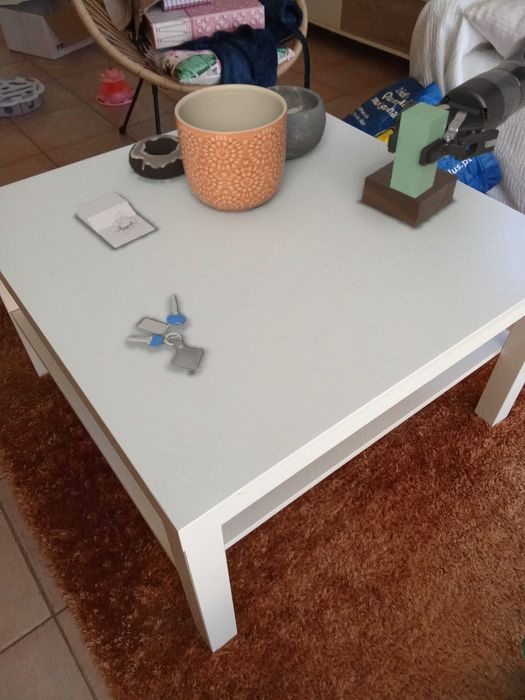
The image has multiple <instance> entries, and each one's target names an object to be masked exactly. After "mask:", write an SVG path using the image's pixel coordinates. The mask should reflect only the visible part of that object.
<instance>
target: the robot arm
mask: <svg viewBox="0 0 525 700" xmlns="http://www.w3.org/2000/svg"><path fill="white" fill-rule="evenodd" d="M416 104H417V102H416V101H415V100H411V99H410V100H407V101H406V102H405V104H404V105H403V107H402V108H401V109H400V111H399V112H398V113H397V115H396V118H395V124H394V130H393V132H391V133H389V135H388V139H387V145H386V147H387V152H388V153H390V154H393V155H395V152H396V147H397V140H398V134H399V128H400V121H401V115H402V112H404V111H405V110H407V109H409V108H411V107H412V106H414V105H416ZM431 105H432V106H435V107H438V108H441V109H444V110H447V111H449V115H448V119H447V124H446V128H445V133H444V136H443V139H441V138H438V139H437V140H435V141H433V142H432V143H430V144H429V145H427V146H425V147H424V148H423V149H422V150H421V154H420V159H419V165H422V166H426V165H428V164H433V163H435V162H436V161H438V162H439V160H441V159H446V158H447V159H448V158H449V157H450V156H452V157H453V159H454V160H455V161H458V162H462V161H463V162H464V161H466V160H469V159H472V158H475V157H479V156H482V155H485V154H488V153H492V152H494V151H495V148H496V145H497V141H498V140H499V139H498V138H499V135H500V130H499V129H497V128H499V127H500V126H502V125H504V123H505V122H506V121H508V120H509V119H510V118H511V117H512V116H513V115H514V114H516V113H518V112H519V111H521V110H522V109H523V108H525V35H523V36H521V37H520V38H518V39H517V40H516V41H515V42H514V43H513V44H512V45H511V47H510V48H509V49H508V50H507V52H506V53H505V55H504V57H503V58H502V60H501V61H500V63H498V64H497V65H495V66H494V67H492V68H490V69H488V70H487V71H483V72H481V73H478V74H477V75H474V76H473V77H471V78H469V79H468V80H465V81H464V82H462V83H460V84H458V85H457V86H455V87H454V88H451V89H450V90H449V91H448V92H447V93H446V94H445V95H444V96H443V97H442V98H441V99H440V101H439V102H438V103H436V104H431ZM468 146H469V147H468Z"/></svg>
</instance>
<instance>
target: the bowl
mask: <svg viewBox="0 0 525 700" xmlns="http://www.w3.org/2000/svg"><path fill="white" fill-rule="evenodd" d="M265 88H266V89H269V90H272V91H274V92H276V93H278V94H279V95H280V96H282V97H283V98H284V100H285V101H286V103H287V135H286V157H285V160H287V159H288V160H289V159H295V158H298V157H301V156H303V155H306V154H308V153H310V152H311V151H313V150H314V149H316V148H317V146H318V145H319V144H320V143H321V140H322V138H323V135H324V133H325V129H326V123H327V116H326V115H327V113H326V112H327V111H326V107H325V103H324V102H323V99H322V98H321V96H320V94H319V93H316V91H314V90H312V89H309V88H306V87H301V86H299V85H289V84H288V85H287V84H286V85H285V84H284V85H283V84H280V85H271V86H268V87H265Z"/></svg>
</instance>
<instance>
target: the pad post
mask: <svg viewBox="0 0 525 700" xmlns="http://www.w3.org/2000/svg"><path fill="white" fill-rule="evenodd" d="M432 105H433V104H429V103H427V102H424V101H419V102H418V103H416V105H414V106H412V107H411V108H409V109H407V110H405V111H404V112H402V115H401V121H400V128H399V134H398V140H397V147H396V152H395V153H394V159H393V160H394V165H393V171H392V177H391V183H390V187H391V188H393V189H395V190H398V191H400V192H402V193H404V194H407V195H409V196H411V197H413V198H416V197H418V196H419V195H421V194H422V193H423V192H425V191H426V190H428V189H429V188H431V187H432V186H433V182H434V177H435V173H436V168H438V164H439V160H438V161H436V162H435V163H433V164H428V165H426V166H422V165H419V159H420V154H421V150H422V149H423V148H424V147H425V146H427V145H429V144H430V143H432V142H433V141H435V140H437V139H438V138H441V139H443V136H444V133H445V128H446V124H447V119H448V115H449V111H447V110H444V109H441V108H438V107H435V106H432Z"/></svg>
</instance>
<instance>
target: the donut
mask: <svg viewBox="0 0 525 700" xmlns="http://www.w3.org/2000/svg"><path fill="white" fill-rule="evenodd" d="M128 163H129V166H130V167H131V169H132V170H133V171H134V173H136V174H137V175H139V176H140V177H143V178H147V179H152V180H165V179H166V180H167V179H172V178H175V177H177V176H180V175H182V174H185V172H184V167H183V162H182V157H181V151H180V144H179V138H178V135H177V136H176V135H173V134H156V135H151V136H147V137H144V138H143V139H140V140H138V141H137V142H136V143H134V144H133V145H132V147H131V149H130V150H129V152H128Z"/></svg>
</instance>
